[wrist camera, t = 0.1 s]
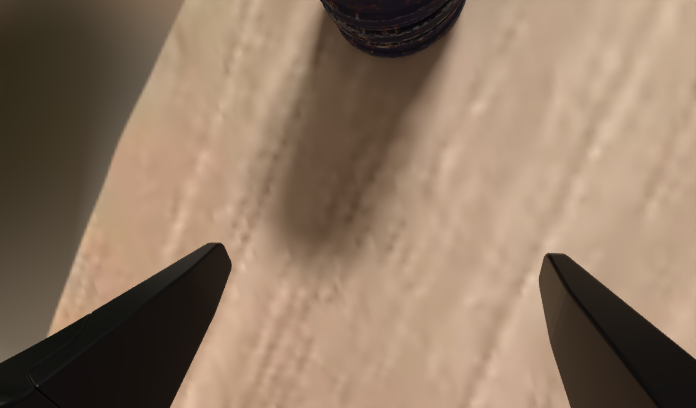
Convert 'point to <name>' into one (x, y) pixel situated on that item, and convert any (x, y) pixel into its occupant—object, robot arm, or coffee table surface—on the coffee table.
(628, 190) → the coffee table surface
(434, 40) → the storage jar
